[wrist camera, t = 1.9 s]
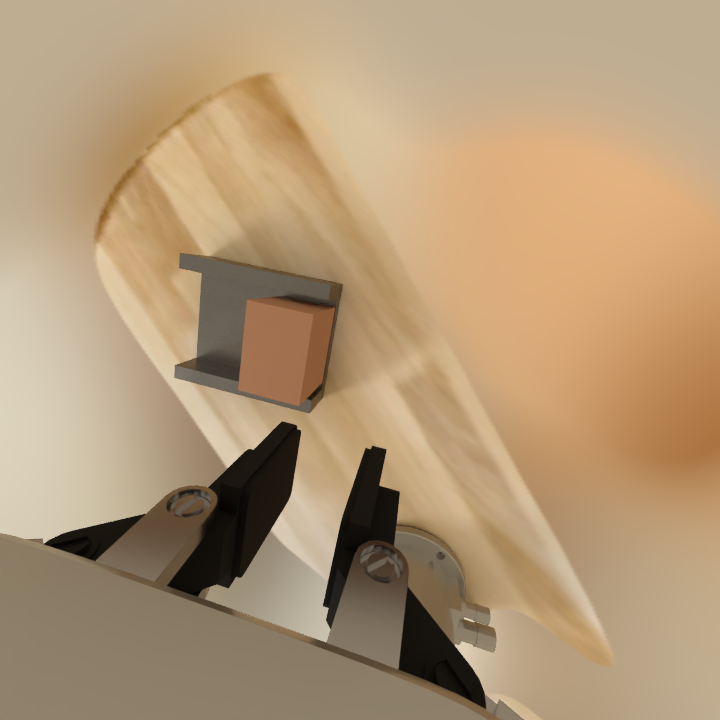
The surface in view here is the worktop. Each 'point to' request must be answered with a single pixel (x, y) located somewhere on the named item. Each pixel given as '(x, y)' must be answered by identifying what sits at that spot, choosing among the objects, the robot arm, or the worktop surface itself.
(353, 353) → the worktop surface
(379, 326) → the worktop surface
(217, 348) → the chute
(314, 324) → the block
